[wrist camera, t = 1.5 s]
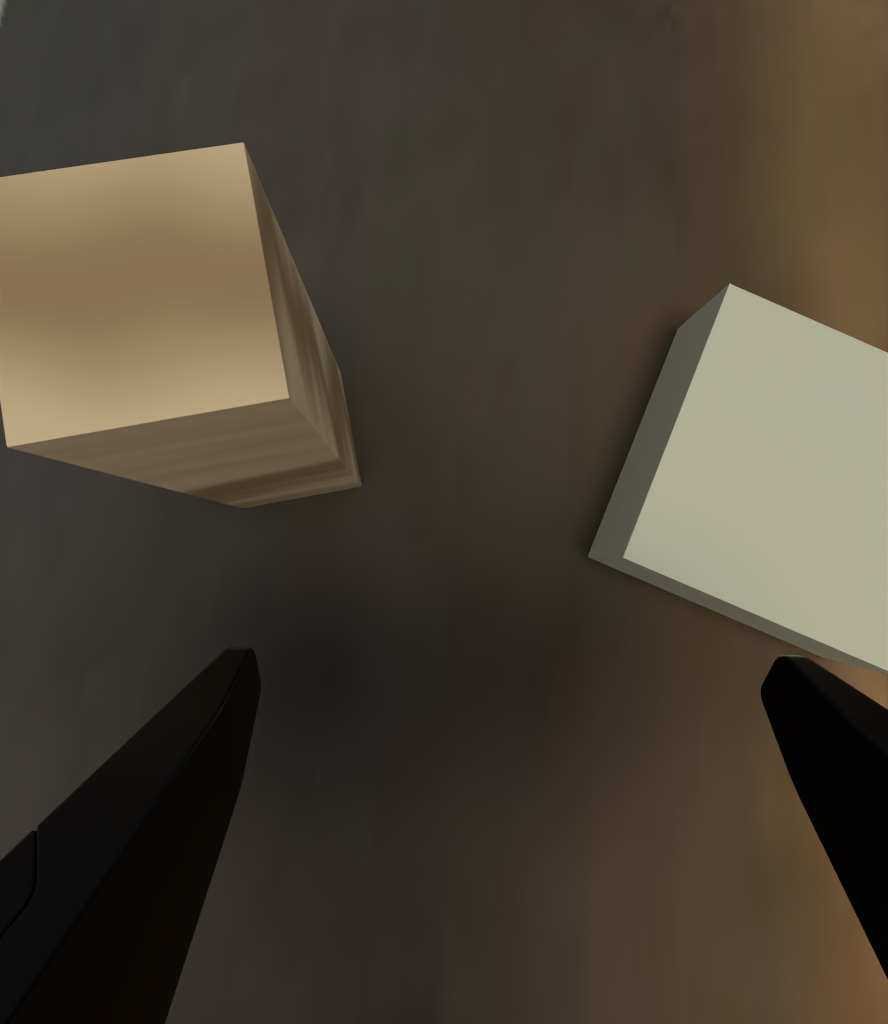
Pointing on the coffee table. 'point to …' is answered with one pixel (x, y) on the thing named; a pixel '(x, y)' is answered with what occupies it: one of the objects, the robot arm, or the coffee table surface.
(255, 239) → the birch block
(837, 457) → the white flat block
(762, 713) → the coffee table surface
